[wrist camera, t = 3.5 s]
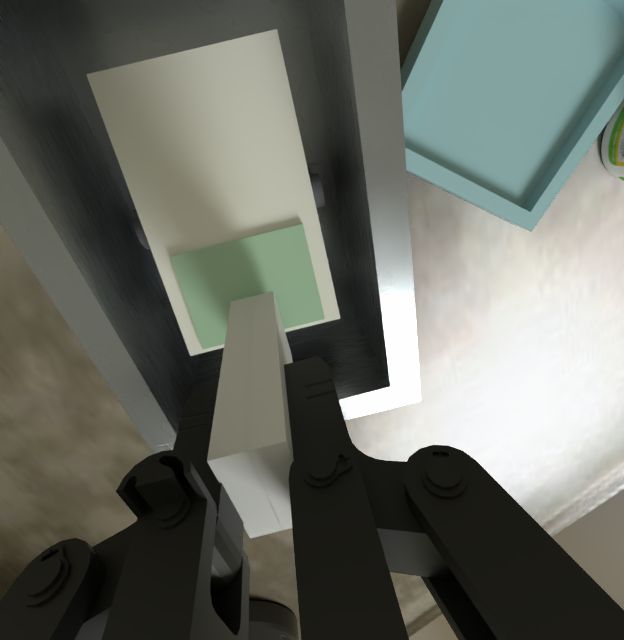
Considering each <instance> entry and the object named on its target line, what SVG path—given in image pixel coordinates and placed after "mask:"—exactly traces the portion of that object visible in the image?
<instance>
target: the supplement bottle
mask: <svg viewBox="0 0 624 640" xmlns="http://www.w3.org/2000/svg"><path fill="white" fill-rule="evenodd" d="M601 154H602V160H603V164H604V166H605V168H606V169H607V171H608V172H609V173H610V174H611V175H612V176H613V177H615V178H617V179H619V180H622V181H624V99H623V101H622V102H621V104H620V105H619V106H618V108H617V109H616V111H615V112H614V114H613V115H612V117H611V118H610V120H609V122H608V124H607V126H606V129H605V132H604V135H603V140H602V147H601Z"/></svg>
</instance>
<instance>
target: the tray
mask: <svg viewBox="0 0 624 640" xmlns="http://www.w3.org/2000/svg"><path fill="white" fill-rule="evenodd" d="M400 75H401V91H402V106H403V122H404V138H405V154H406V170H407V172H408V173H410V174H412V175H414V176H416V177H418V178H420V179H422V180H424V181H426V182H428V183H431V184H433V185H435V186H437V187H439V188H441V189H443V190H445V191H447V192H449V193H451V194H453V195H455V196H457V197H459V198H461V199H463V200H465V201H467V202H469V203H471V204H473V205H475V206H477V207H479V208H481V209H483V210H485V211H487V212H489V213H491V214H493V215H495V216H497V217H499V218H501V219H503V220H505V221H507V222H510V223H512V224H514V225H516V226H519V227H521V228H524V229H526V230H529V231H531V232H532V230H533V229H534V227H535V226H536V225H537V223H538V222H539V220H540V219H541V217H542V216H543V215H544V213H545V212H546V210H547V209H548V207H549V206H550V204H551V203H552V202H553V200H554V199H555V197H556V196H557V194H558V193H559V191H560V190H561V189H562V187H563V186H564V184H565V183H566V181H567V180H568V179H569V177H570V176H571V174H572V173H573V171H574V170H575V168H576V167H577V166H578V164H579V163H580V161H581V160H582V158H583V157H584V155H585V154H586V153H587V151H588V150H589V148H590V147H591V145H592V144H593V143H594V141H595V140H596V138H597V137H598V135H599V134H600V132H601V131H602V130H603V128H604V127H605V125H606V124H607V122H608V121H609V119H610V118H611V117H612V115H613V114H614V112H615V111H616V109H617V108H618V106H619V105H620V104H621V102H622V101H623V99H624V0H431V3H430V5H429V7H428V9H427V12H426V14H425V16H424V18H423V21H422V23H421V25H420V27H419V30H418V32H417V34H416V36H415V39H414V41H413V43H412V45H411V48H410V50H409V52H408V55H407V57H406V59H405V61H404V64H403V66H402V68H401V70H400Z"/></svg>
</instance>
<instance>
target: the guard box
mask: <svg viewBox="0 0 624 640" xmlns="http://www.w3.org/2000/svg"><path fill="white" fill-rule="evenodd" d="M275 29H277V31H278V36H279V40H280V45H281V49H282V54H283V58H284V63H285V68H286V72H287V77H288V81H289V86H290V90H291V95H292V99H293V104H294V109H295V113H296V118H297V122H298V127H299V131H300V136H301V141H302V145H303V150H304V154H305V159H306V163H307V168H308V172H309V175H310V174H314V173H318V174H319V177H320V180H321V184H322V188H323V193H324V200H325V206H323V207H319V208H316V209H317V214H318V218H319V223H320V227H321V232H322V236H323V241H324V246H325V250H326V255H327V259H328V264H329V268H330V273H331V277H332V282H333V287H334V291H335V296H336V300H337V305H338V309H339V314H340V319H336V320H332V321H328V322H324V323H320V324H316V325H312V326H308V327H304V328H300V329H296V330H292V331H288V332H285V333H286V337H287V340H288V344H289V347H290V350H291V354H292V361H293V362H297V361H301V360H305V359H309V358H313V357H317V356H319V357H320V358H321V359H322V360H323V361H324V362H325V363H327V364H328V365H329V368H330V371H331V375H332V378H333V382H334V385H335V389H336V392H337V396H338V399H339V403H340V406H341V410H342V413H343V417H344V420H349V419H352V418H356V417H360V416H364V415H368V414H372V413H376V412H380V411H384V410H388V409H392V408H396V407H400V406H404V405H408V404H411V403H415V402H419V401H421V392H420V376H419V360H418V344H417V328H416V312H415V297H414V281H413V265H412V249H411V233H410V217H409V201H408V186H407V170H406V154H405V138H404V122H403V106H402V91H401V75H400V59H399V43H398V27H397V11H396V0H0V223H1V225H2V226H3V228H4V229H5V231H6V232H7V234H8V235H9V237H10V238H11V240H12V241H13V243H14V244H15V246H16V247H17V249H18V250H19V252H20V253H21V255H22V256H23V258H24V259H25V261H26V262H27V264H28V265H29V267H30V268H31V270H32V271H33V273H34V274H35V276H36V277H37V279H38V280H39V282H40V283H41V285H42V287H43V288H44V290H45V291H46V293H47V294H48V296H49V297H50V299H51V300H52V302H53V303H54V305H55V306H56V308H57V309H58V311H59V312H60V314H61V315H62V317H63V318H64V320H65V321H66V323H67V324H68V326H69V327H70V329H71V330H72V332H73V333H74V335H75V336H76V338H77V339H78V341H79V342H80V344H81V345H82V347H83V348H84V350H85V351H86V353H87V354H88V356H89V357H90V359H91V360H92V362H93V363H94V365H95V366H96V368H97V369H98V371H99V372H100V374H101V375H102V377H103V378H104V380H105V381H106V383H107V384H108V386H109V387H110V389H111V390H112V392H113V393H114V395H115V396H116V398H117V399H118V401H119V402H120V404H121V405H122V407H123V408H124V410H125V411H126V413H127V414H128V416H129V417H130V419H131V420H132V422H133V423H134V425H135V426H136V428H137V429H138V431H139V432H140V434H141V435H142V437H143V438H144V440H145V441H146V443H147V444H148V446H149V447H150V449H151V450H152V452H153V453H154V454H156V453H158V452H161V451H166V450H173V448H174V444H175V440H176V436H177V434H178V428H179V424H180V421H182V419H181V417H182V413H183V409H184V405H185V402H186V401H187V399H188V398H189V397H190V395H191V394H192V392H193V391H194V390H195V388H198V387H202V386H206V385H210V384H214V383H218V382H219V377H220V371H221V364H222V357H223V351H224V348H221V349H217V350H213V351H209V352H205V353H201V354H197V355H193V356H190V354H189V351H188V349H187V346H186V343H185V340H184V338H183V335H182V332H181V330H180V327H179V324H178V322H177V319H176V316H175V313H174V311H173V308H172V305H171V303H170V300H169V297H168V294H167V292H166V289H165V286H164V284H163V281H162V278H161V276H160V273H159V270H158V267H157V265H156V262H155V259H154V257H153V254H152V251H151V249H146V248H145V247H144V246H143V245H142V244H141V242H140V241H139V239H138V237H137V234H136V231H135V227H134V219H135V217H138V213H137V211H136V208H135V205H134V202H133V200H132V197H131V194H130V192H129V189H128V186H127V183H126V181H125V178H124V175H123V173H122V170H121V167H120V165H119V162H118V159H117V156H116V154H115V151H114V148H113V146H112V143H111V140H110V137H109V135H108V132H107V129H106V127H105V124H104V121H103V119H102V116H101V113H100V110H99V108H98V105H97V102H96V100H95V97H94V94H93V91H92V89H91V86H90V83H89V81H88V78H87V75H86V74H90V73H94V72H98V71H102V70H107V69H111V68H115V67H119V66H123V65H128V64H132V63H136V62H140V61H144V60H149V59H153V58H157V57H161V56H165V55H170V54H174V53H178V52H182V51H186V50H191V49H195V48H199V47H203V46H207V45H212V44H216V43H220V42H224V41H228V40H233V39H237V38H241V37H245V36H249V35H254V34H258V33H262V32H266V31H270V30H275Z"/></svg>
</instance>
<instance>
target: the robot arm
mask: <svg viewBox="0 0 624 640" xmlns="http://www.w3.org/2000/svg"><path fill="white" fill-rule="evenodd" d="M181 419H182V421H180V424H179V428H178V434H177V436H176V440H175V444H174V448H173V450H166V451H161V452H158V453H156V454H153V455H151V456H148V457H147V458H145V459H144V460H143V461H141V462H140V463H138V464H137V465H135V466H134V467H133V468H132V469H131V471H130V472H129V473H128V474H127V475H126V476H125V477H124V478H123V480H122V482H121V483H120V485H119V487H118V489H117V491H116V492H117V493H118V495H119V496H120V497H121V498H122V499H123V501H124V502H125V503H126V504H127V506H128V507H129V508H130V509H131V510H132V512H133V513H134V514H135V515H136V516H137V518H138V519H137V521H136V522H135V523H133V524H132V525H130V526H129V527H127V528H126V529H124V530H122V531H120V532H119V533H117V534H115V535H113V536H112V537H110V538H108V539H106V540H104V541H103V542H101V543H99V544H97V545H95V546H94V547H91V546H90V545H89V544H88V543H87V542H86V541H83V540H80V539H77V538H73V539H68V540H64V541H61V542H59V543H57V544H55V545H53V546H51V547H49V548H48V549H46V550H45V551H43V552H42V553H41V554H40V555H39V556H37V557H36V558H35V559H34V560H33V561H32V562H30V563H29V565H28V566H27V567H26V568H25V569H24V571H23V572H22V573H21V574H20V575H19V577H18V578H17V579H16V580H15V582H14V583H13V585H12V586H11V587H10V589H9V590H8V592H7V593H6V595H5V596H4V597H3V599H2V600H1V602H0V640H298V627H297V619H296V617H295V615H294V614H293V613H292V612H291V611H290V610H288V609H287V608H285V607H282V606H280V605H277V604H273V603H269V602H263V601H249V574H250V568H249V562H248V556H247V555H246V553H245V551H244V550H243V526H244V528H245V530H246V532H247V534H248V535H249V537H250V538H254V537H258V536H262V535H266V534H270V533H274V532H277V531H281V530H285V529H289V528H292V529H293V541H294V553H295V566H296V578H297V590H298V603H299V615H300V627H301V640H409V638H408V635H407V631H406V628H405V624H404V621H403V617H402V614H401V610H400V607H399V603H398V600H397V596H396V593H395V589H394V586H393V582H392V579H391V575H390V572H395V573H402V574H409V575H416V576H421V578H422V579H423V581H424V583H425V584H426V586H427V588H428V589H429V591H430V593H431V594H432V596H433V598H434V599H435V601H436V603H437V605H438V606H439V608H440V610H441V611H442V613H443V615H444V616H445V618H446V620H447V621H448V623H449V624H450V626H451V628H452V629H453V631H454V633H455V635H456V636H457V638H458V640H624V610H623V609H622V608H621V607H620V606H619V605H618V604H617V603H616V602H615V601H614V600H613V599H612V598H611V597H610V596H609V595H608V594H607V593H606V592H605V591H604V590H603V589H602V588H601V587H600V586H599V585H598V584H597V583H596V582H595V581H594V580H593V579H592V578H591V577H590V576H589V575H588V574H587V573H586V572H585V571H584V570H583V569H582V568H581V567H580V566H579V565H578V564H577V563H576V562H575V561H574V560H573V559H572V558H571V557H570V556H569V555H568V554H567V553H566V552H565V551H564V549H562V547H561V546H560V545H559V544H558V543H557V542H556V541H555V540H554V539H553V538H552V537H551V536H550V535H549V534H548V533H547V532H546V531H545V530H544V529H543V528H542V527H541V526H540V525H539V524H538V523H537V522H536V521H535V520H534V519H533V518H532V517H531V516H530V515H529V514H528V513H527V512H526V511H525V510H524V509H523V508H522V507H521V506H520V505H519V504H518V503H517V502H516V501H515V500H514V499H513V498H512V497H511V496H510V495H509V494H508V493H507V492H506V491H505V490H504V489H503V488H502V487H501V486H500V485H499V484H498V483H497V482H496V481H495V480H494V479H493V478H492V477H491V476H490V475H489V474H488V473H487V471H486V470H485V469H484V468H483V467H482V466H481V465H480V464H479V463H478V462H477V461H476V460H474V459H473V458H472V457H470V456H469V455H467V454H466V453H465V452H463V451H461V450H458V449H456V448H453V447H450V446H441V445H432V446H428V447H425V448H421V449H419V450H418V451H416V452H415V453H414V454H413V455H411V456H410V457H409V459H408V461H407V462H399V461H384V460H378V459H374V458H372V457H369V456H367V455H365V454H363V453H362V452H361V451H359V450H358V449H357V448H356V447H355V446H354V444H353V443H352V441H351V439H350V437H349V434H348V430H347V427H346V423H345V420H344V417H343V413H342V410H341V406H340V403H339V399H338V396H337V392H336V389H335V385H334V382H333V378H332V375H331V371H330V368H329V365H328V364H327V363H325V362H324V361H323V360H322V359H321V358H320V357H319V356H317V357H313V358H309V359H305V360H301V361H297V362H293V361H292V354H291V350H290V347H289V344H288V340H287V337H286V333H285V330H284V327H283V323H282V320H281V316H280V313H279V310H278V306H277V303H276V299H275V296H274V293H273V291H272V292H268V293H264V294H260V295H256V296H251V297H247V298H243V299H239V300H235V301H231V304H230V311H229V317H228V324H227V331H226V337H225V344H224V351H223V357H222V364H221V371H220V377H219V382H218V383H214V384H210V385H206V386H202V387H198V388H195V390H194V391H193V392H192V394H191V395H190V397H189V398H188V399H187V401H186V402H185V405H184V409H183V413H182V417H181Z"/></svg>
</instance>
